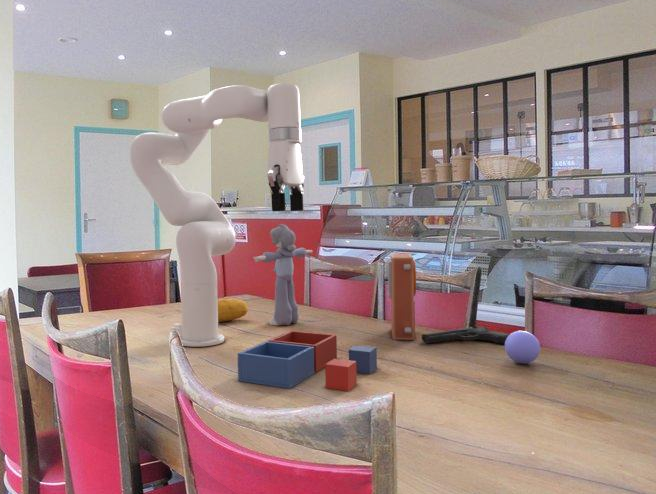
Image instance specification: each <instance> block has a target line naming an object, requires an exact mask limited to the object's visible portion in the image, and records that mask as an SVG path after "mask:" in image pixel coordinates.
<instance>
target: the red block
mask: <svg viewBox="0 0 656 494" xmlns="http://www.w3.org/2000/svg"><path fill="white" fill-rule="evenodd" d="M324 369H325V372H324V373H325V375H324V376H325V388H326V389H331V390H337V391H344V392H349V391H350V390H352V389H353V388H355V386H357V385H358V383H357V382H358V380H357V372H356V361H350V360H349V359H342V358H337V359H333V360H331V361H330V362H328V363H326V364H325V367H324Z"/></svg>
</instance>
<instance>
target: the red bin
mask: <svg viewBox="0 0 656 494" xmlns="http://www.w3.org/2000/svg"><path fill="white" fill-rule="evenodd" d="M267 342H275V343H285V344H294V345H303V346H311V347H314V373H318V372H319V371H321V370H322V369H325V364H326V363H328V362H330V361H331V360H333V359H338V344H337V343H338V341H337V334H330V333H320V332H311V331H300V330H290V331H287V332H284V333H282V334H280V335H277V336H276V337H273V338H271V339H268V340H267Z"/></svg>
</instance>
